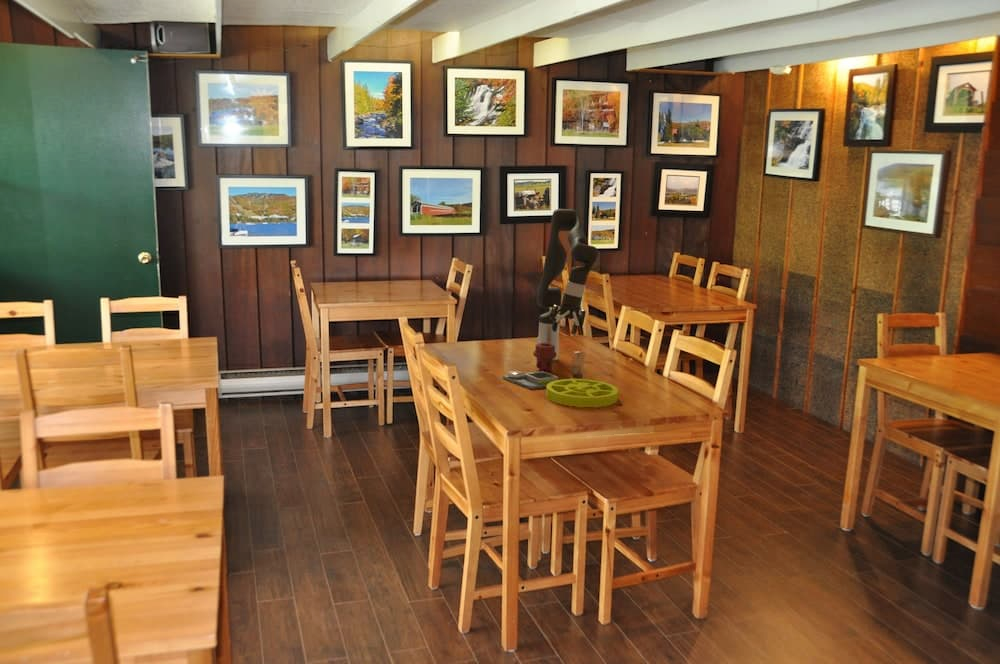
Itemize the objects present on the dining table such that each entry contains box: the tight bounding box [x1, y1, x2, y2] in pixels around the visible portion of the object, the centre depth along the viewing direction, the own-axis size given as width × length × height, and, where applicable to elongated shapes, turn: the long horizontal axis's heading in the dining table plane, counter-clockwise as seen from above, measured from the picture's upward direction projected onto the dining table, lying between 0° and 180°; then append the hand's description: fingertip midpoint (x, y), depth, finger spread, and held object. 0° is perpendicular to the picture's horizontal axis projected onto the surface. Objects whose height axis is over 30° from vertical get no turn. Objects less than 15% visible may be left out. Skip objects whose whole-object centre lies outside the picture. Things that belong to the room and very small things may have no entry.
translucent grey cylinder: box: [569, 350, 586, 379], centre depth 373 cm, size 6×6×12 cm
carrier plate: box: [502, 370, 559, 390], centre depth 368 cm, size 20×16×3 cm
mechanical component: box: [533, 342, 557, 372], centre depth 387 cm, size 12×10×10 cm
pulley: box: [545, 378, 619, 408], centre depth 347 cm, size 28×28×5 cm
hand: (563, 332), depth 357 cm, fingers open, 8 cm apart
